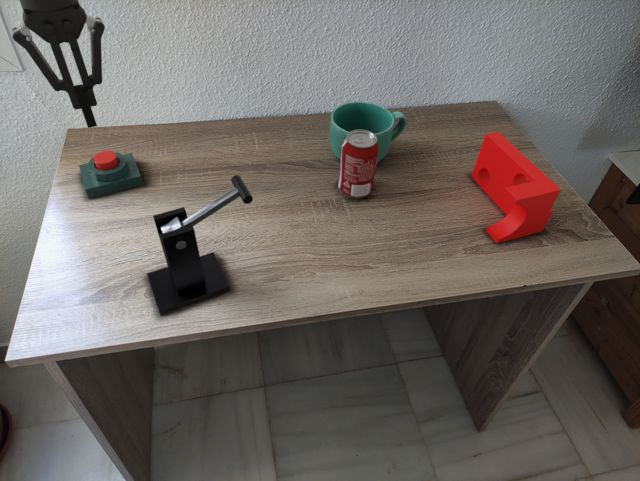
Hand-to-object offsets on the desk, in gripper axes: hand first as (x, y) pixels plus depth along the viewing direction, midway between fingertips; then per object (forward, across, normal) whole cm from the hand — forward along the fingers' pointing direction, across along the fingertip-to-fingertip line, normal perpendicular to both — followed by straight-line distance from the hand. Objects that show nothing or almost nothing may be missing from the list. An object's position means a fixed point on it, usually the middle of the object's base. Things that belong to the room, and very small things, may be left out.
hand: (91, 123), depth 82 cm
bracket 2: (+13, +64, -37) cm, 75 cm away
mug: (+13, +50, -13) cm, 53 cm away
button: (+9, 0, 0) cm, 9 cm away
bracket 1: (+13, +6, -31) cm, 34 cm away
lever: (0, +11, -31) cm, 33 cm away
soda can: (+13, +42, -22) cm, 49 cm away
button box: (+13, 0, 0) cm, 13 cm away
